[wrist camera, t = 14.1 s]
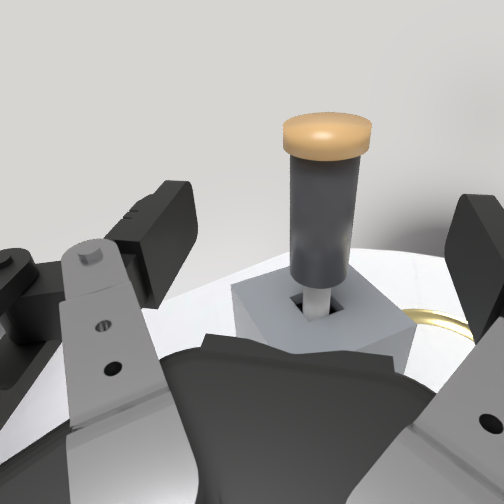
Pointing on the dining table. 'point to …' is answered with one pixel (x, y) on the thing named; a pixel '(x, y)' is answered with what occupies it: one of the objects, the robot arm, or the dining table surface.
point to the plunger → (322, 200)
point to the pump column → (326, 328)
